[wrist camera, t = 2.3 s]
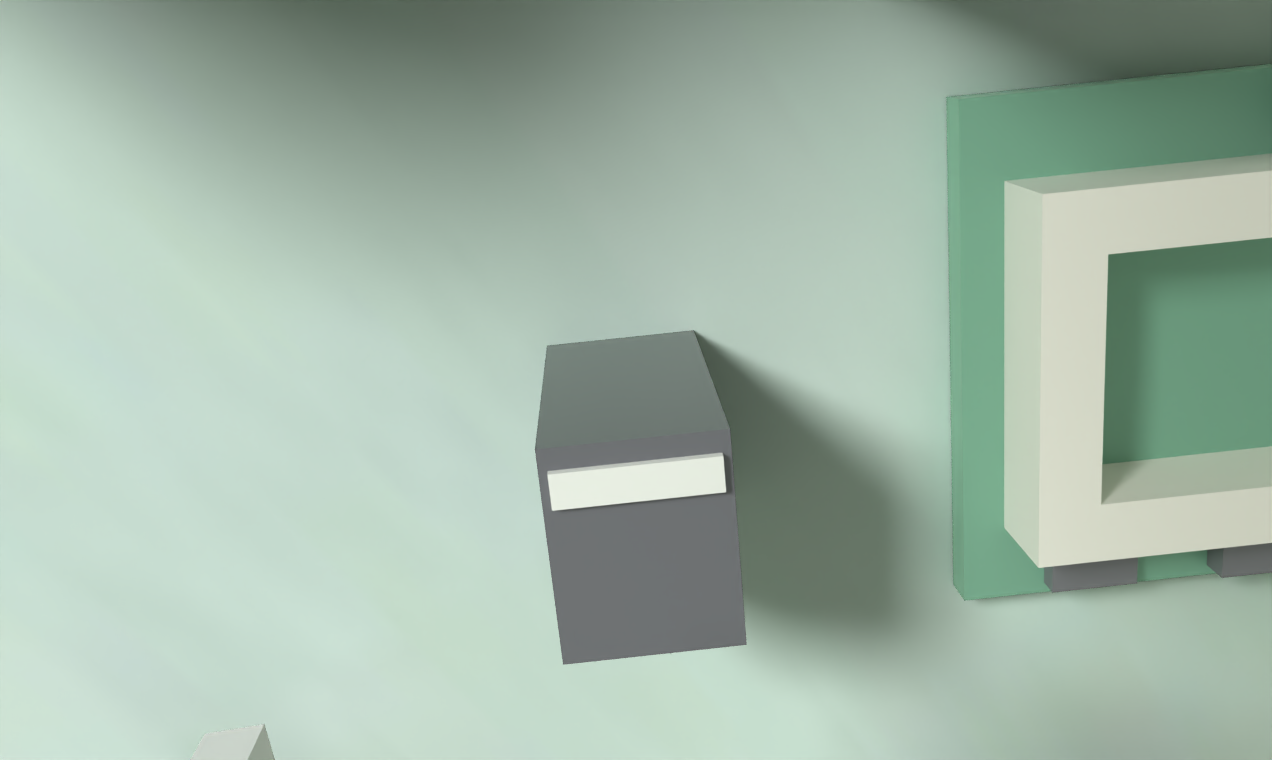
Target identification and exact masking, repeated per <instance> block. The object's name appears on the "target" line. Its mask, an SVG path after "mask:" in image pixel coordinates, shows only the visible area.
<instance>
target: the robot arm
mask: <svg viewBox="0 0 1272 760" xmlns="http://www.w3.org/2000/svg"><path fill="white" fill-rule="evenodd" d="M190 760H275V759H274V755H273V752H272V749H271V745H270V742H269V738H268V735H267V731H266V728H265V725H264V724H261V725H255V726H248V727H242V728H236V729H230V730H223V731H217V732H211V733H205V734H204V735H203V737H202V739H201V741H200V743H199V745H198V746H197V748H196V750H195V752H194V754H193V755H192V757H191V759H190Z"/></svg>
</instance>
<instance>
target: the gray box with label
mask: <svg viewBox="0 0 1272 760" xmlns="http://www.w3.org/2000/svg"><path fill="white" fill-rule="evenodd" d="M535 453H536V461H537V469H538V476H539V484H540V491H541V499H542V507H543V514H544V522H545V530H546V537H547V545H548V552H549V560H550V568H551V575H552V583H553V591H554V598H555V606H556V613H557V621H558V629H559V636H560V644H561V651H562V659H563V665H564V664H573V663H582V662H591V661H600V660H610V659H619V658H628V657H637V656H646V655H656V654H665V653H674V652H683V651H692V650H702V649H711V648H720V647H729V646H738V645H747V644H746V631H745V618H744V605H743V591H742V578H741V565H740V552H739V539H738V525H737V512H736V499H735V486H734V473H733V460H732V446H731V433H730V427H729V424H728V422H727V419H726V416H725V413H724V411H723V408H722V405H721V403H720V400H719V397H718V395H717V392H716V389H715V386H714V384H713V381H712V378H711V376H710V373H709V370H708V368H707V365H706V362H705V360H704V357H703V354H702V351H701V349H700V346H699V343H698V341H697V338H696V335H695V333H694V330H693V331H683V332H673V333H664V334H654V335H645V336H635V337H626V338H616V339H607V340H597V341H587V342H578V343H568V344H559V345H549V346H547V351H546V360H545V368H544V377H543V385H542V394H541V402H540V411H539V419H538V428H537V437H536V445H535Z"/></svg>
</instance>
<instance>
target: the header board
mask: <svg viewBox="0 0 1272 760" xmlns="http://www.w3.org/2000/svg"><path fill="white" fill-rule="evenodd" d="M947 163H948V234H949V305H950V376H951V447H952V518H953V584H954V586H955V587H956V589H957V590H958V592H959V593H960V595H961V596H962V598H963V599H964V601H965V600H974V599H983V598H992V597H1002V596H1011V595H1020V594H1029V593H1039V592H1048V591H1052V592H1061V591H1070V590H1080V589H1089V588H1098V587H1107V586H1116V585H1126V584H1135V583H1137V582H1140V581H1149V580H1159V579H1168V578H1177V577H1186V576H1195V575H1205V574H1214V573H1217V574H1218V575H1219V576H1220V577H1221V578H1224V577H1233V576H1243V575H1252V574H1261V573H1270V572H1272V64H1266V65H1256V66H1246V67H1236V68H1226V69H1217V70H1207V71H1197V72H1187V73H1177V74H1168V75H1158V76H1148V77H1138V78H1128V79H1119V80H1109V81H1099V82H1089V83H1079V84H1070V85H1060V86H1050V87H1040V88H1030V89H1020V90H1011V91H1001V92H991V93H981V94H971V95H962V96H952V97H947Z"/></svg>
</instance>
